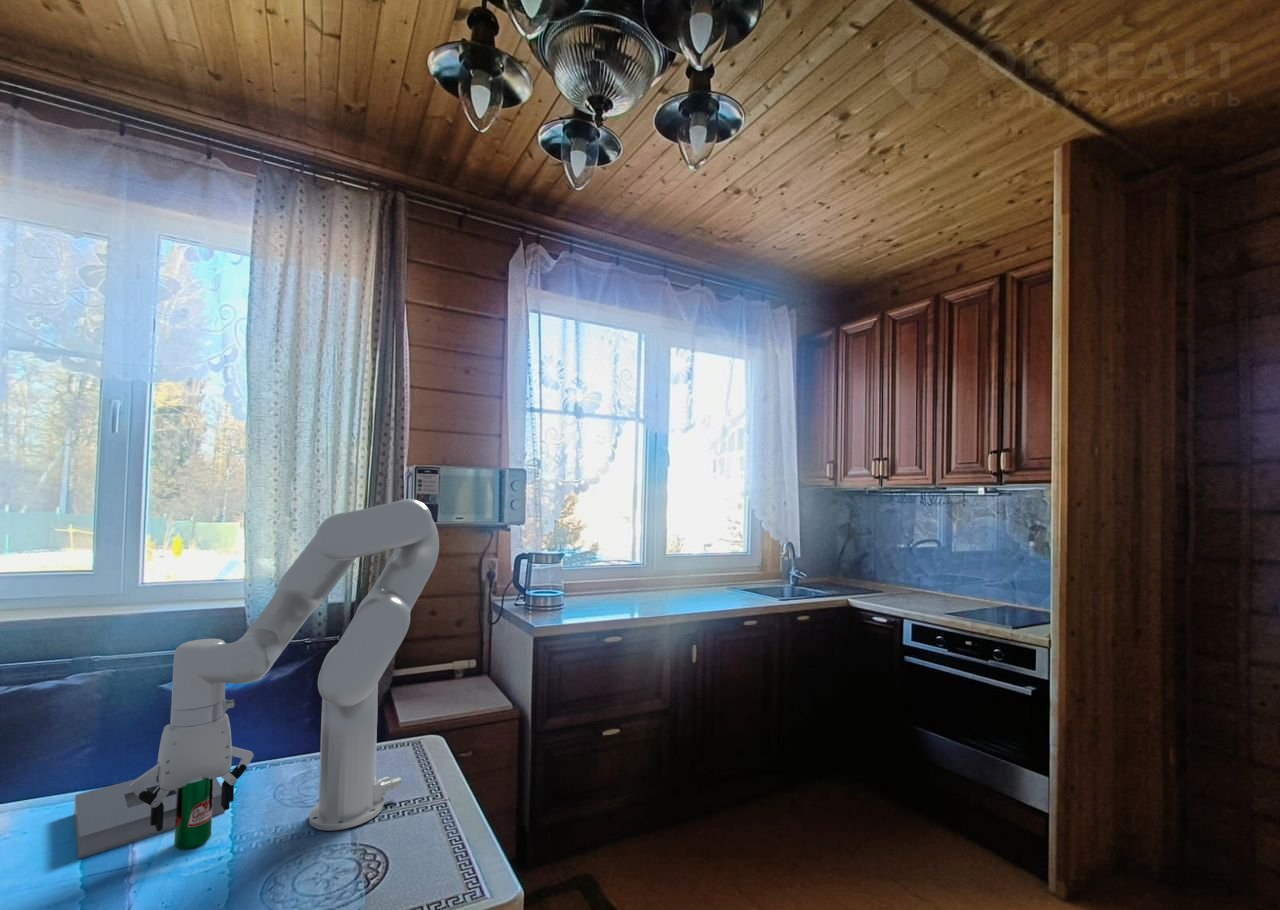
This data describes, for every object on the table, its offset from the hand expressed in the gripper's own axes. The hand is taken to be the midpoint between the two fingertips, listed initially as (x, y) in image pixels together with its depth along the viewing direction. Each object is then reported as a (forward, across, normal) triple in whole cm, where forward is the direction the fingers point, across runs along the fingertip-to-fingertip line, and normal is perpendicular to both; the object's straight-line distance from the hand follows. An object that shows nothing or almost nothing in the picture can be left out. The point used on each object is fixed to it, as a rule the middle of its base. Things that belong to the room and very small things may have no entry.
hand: (192, 817), depth 101 cm
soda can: (+5, 0, 0) cm, 5 cm away
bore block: (+4, +4, -18) cm, 19 cm away
